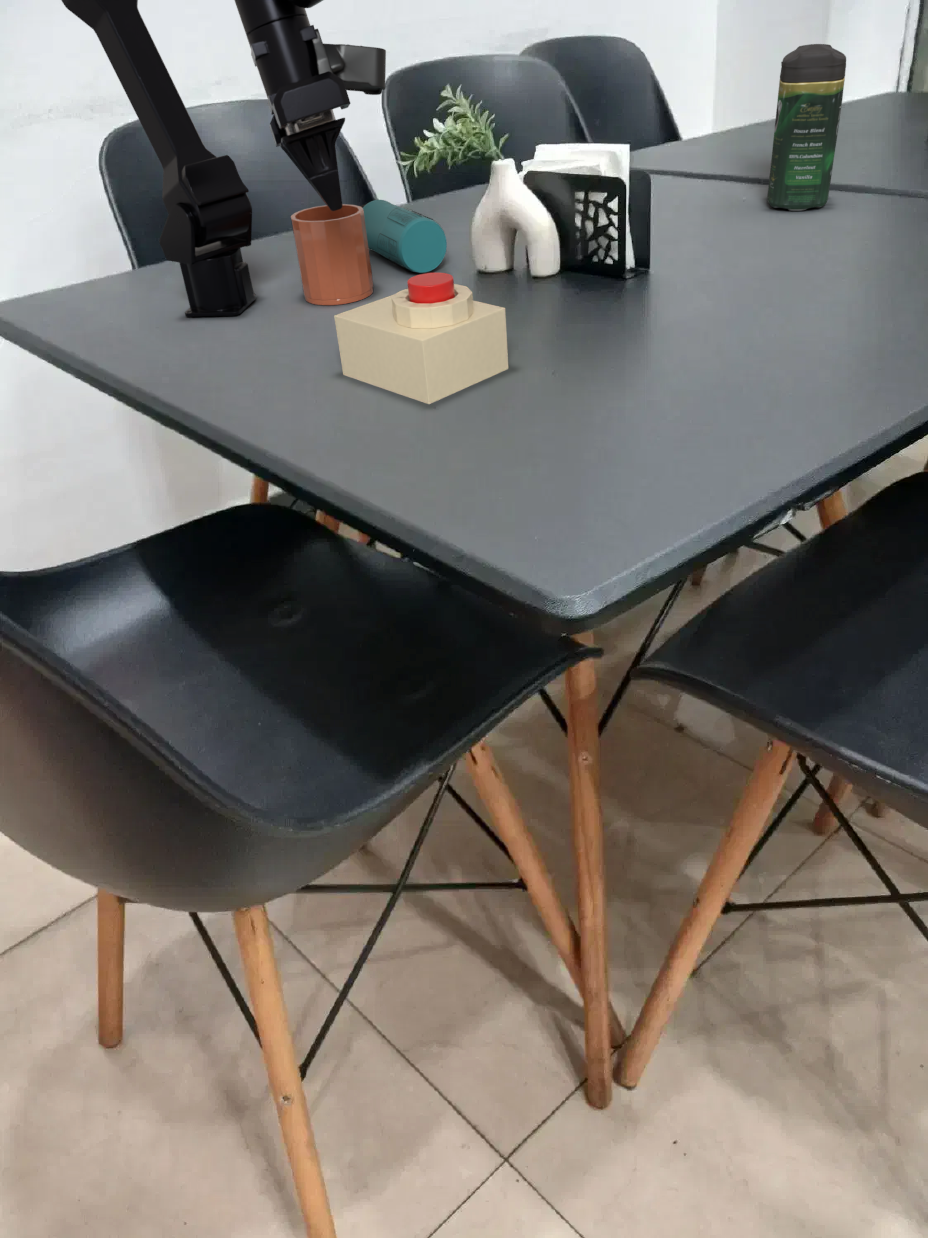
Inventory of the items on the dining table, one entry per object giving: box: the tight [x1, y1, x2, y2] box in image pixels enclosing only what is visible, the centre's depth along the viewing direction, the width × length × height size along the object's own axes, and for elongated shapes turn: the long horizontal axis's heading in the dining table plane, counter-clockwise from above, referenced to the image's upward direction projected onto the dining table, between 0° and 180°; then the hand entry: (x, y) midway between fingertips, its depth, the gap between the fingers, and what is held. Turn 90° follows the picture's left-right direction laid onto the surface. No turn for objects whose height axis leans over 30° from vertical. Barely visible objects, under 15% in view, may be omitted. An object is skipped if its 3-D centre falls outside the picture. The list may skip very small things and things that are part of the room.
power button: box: [406, 272, 455, 304], centre depth 85 cm, size 4×4×2 cm
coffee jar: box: [767, 43, 847, 212], centre depth 125 cm, size 10×8×19 cm
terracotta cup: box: [290, 203, 374, 306], centre depth 110 cm, size 8×8×9 cm
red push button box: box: [333, 283, 509, 405], centre depth 88 cm, size 12×10×8 cm
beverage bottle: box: [359, 199, 448, 275], centre depth 121 cm, size 6×7×20 cm
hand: (337, 209), depth 92 cm, fingers closed
